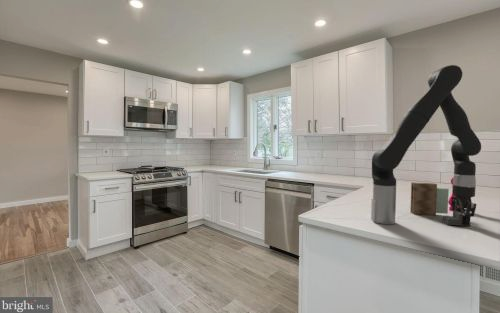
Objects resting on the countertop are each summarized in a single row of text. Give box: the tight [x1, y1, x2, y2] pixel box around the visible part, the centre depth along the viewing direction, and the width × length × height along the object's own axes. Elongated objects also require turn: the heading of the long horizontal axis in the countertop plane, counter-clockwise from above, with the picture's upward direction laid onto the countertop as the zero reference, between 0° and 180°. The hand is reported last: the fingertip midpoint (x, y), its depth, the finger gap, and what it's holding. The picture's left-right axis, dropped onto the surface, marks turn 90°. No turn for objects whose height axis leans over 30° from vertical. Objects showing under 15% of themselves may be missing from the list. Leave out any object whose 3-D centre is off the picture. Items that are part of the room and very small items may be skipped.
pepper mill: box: [448, 177, 456, 212], centre depth 128 cm, size 7×7×20 cm
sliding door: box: [436, 187, 449, 215], centre depth 122 cm, size 12×1×12 cm, turn 75°
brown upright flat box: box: [409, 181, 438, 216], centre depth 123 cm, size 10×4×16 cm, turn 75°
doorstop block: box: [441, 211, 471, 227], centre depth 107 cm, size 8×5×5 cm, turn 75°
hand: (461, 222), depth 106 cm, fingers closed on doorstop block, 5 cm apart
